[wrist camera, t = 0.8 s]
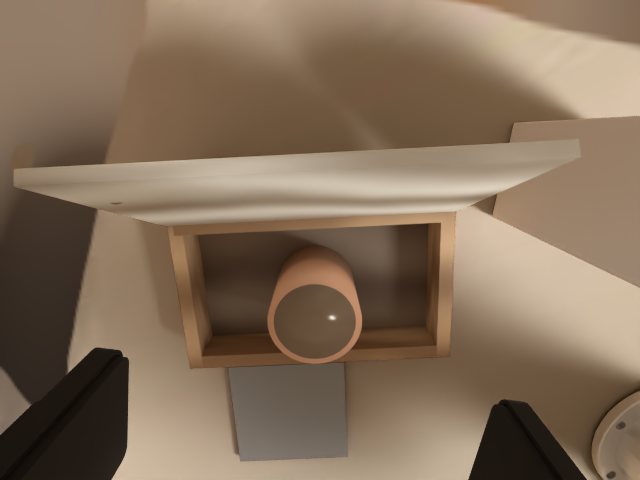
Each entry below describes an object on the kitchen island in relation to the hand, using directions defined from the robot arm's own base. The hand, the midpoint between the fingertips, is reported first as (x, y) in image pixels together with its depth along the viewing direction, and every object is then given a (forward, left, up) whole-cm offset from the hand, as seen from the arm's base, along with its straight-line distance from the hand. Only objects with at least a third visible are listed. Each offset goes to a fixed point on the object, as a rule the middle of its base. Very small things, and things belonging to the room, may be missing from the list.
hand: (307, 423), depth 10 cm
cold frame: (-2, 0, -21) cm, 21 cm away
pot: (-5, 0, -21) cm, 21 cm away
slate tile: (-17, +3, -21) cm, 27 cm away
